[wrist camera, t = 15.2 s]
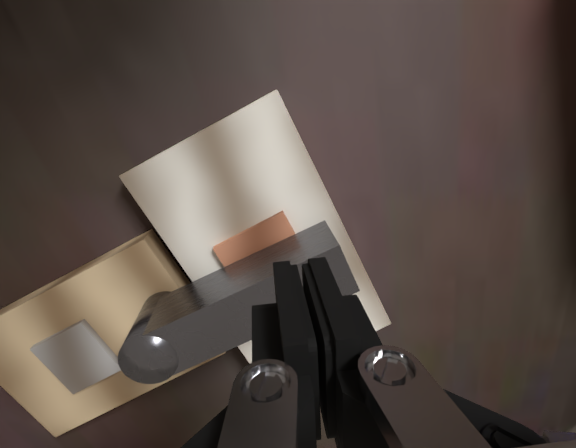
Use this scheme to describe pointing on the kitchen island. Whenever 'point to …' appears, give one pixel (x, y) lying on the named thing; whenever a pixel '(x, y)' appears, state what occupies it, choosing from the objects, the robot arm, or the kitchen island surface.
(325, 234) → the bar
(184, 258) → the door and jamb
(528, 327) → the kitchen island surface
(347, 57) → the kitchen island surface
